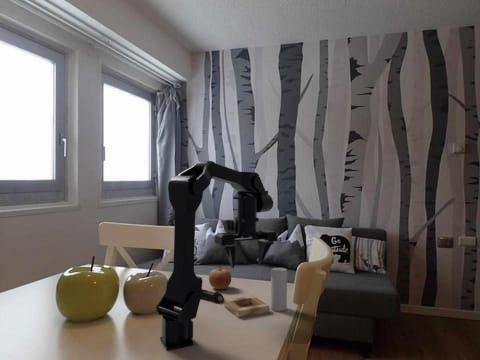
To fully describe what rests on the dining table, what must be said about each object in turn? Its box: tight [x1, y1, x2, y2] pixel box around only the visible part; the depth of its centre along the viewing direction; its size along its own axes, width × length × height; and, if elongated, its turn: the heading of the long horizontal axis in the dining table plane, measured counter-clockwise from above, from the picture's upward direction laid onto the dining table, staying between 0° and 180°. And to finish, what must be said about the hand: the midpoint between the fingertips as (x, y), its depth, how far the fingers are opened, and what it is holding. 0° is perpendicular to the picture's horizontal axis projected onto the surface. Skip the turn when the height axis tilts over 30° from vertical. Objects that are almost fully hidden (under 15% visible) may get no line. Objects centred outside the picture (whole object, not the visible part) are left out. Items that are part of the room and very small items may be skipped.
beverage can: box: [270, 267, 288, 313], centre depth 108 cm, size 5×5×12 cm
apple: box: [208, 265, 232, 290], centre depth 128 cm, size 8×8×8 cm
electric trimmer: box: [201, 288, 225, 304], centre depth 118 cm, size 4×16×3 cm, turn 55°
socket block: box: [223, 295, 270, 319], centre depth 108 cm, size 10×10×2 cm
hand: (246, 266), depth 108 cm, fingers open, 9 cm apart
